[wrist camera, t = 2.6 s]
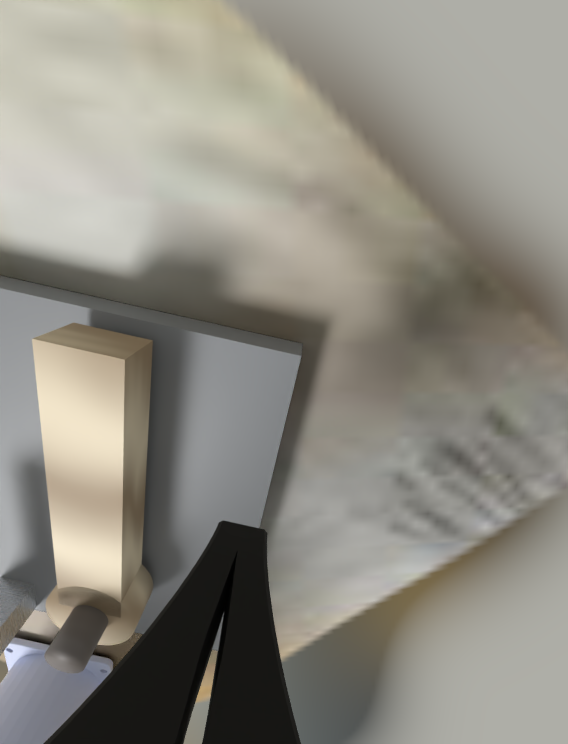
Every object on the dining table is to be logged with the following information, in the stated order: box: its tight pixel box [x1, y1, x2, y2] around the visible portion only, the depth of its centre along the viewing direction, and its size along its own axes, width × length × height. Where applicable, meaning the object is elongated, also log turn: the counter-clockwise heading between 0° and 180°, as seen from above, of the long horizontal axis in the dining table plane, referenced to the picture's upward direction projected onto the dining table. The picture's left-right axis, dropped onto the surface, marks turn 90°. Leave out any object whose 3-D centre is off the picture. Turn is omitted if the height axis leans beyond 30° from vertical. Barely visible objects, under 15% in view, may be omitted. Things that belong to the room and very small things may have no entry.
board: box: [0, 276, 303, 651], centre depth 17 cm, size 20×20×2 cm
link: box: [32, 323, 153, 674], centre depth 14 cm, size 16×4×4 cm, turn 168°
